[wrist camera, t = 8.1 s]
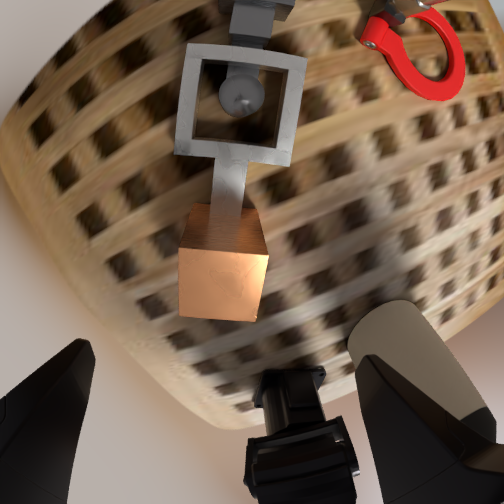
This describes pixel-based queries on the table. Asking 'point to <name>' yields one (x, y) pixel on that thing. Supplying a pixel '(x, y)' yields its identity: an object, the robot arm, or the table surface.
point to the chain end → (229, 190)
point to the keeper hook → (250, 36)
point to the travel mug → (421, 361)
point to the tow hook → (390, 44)
